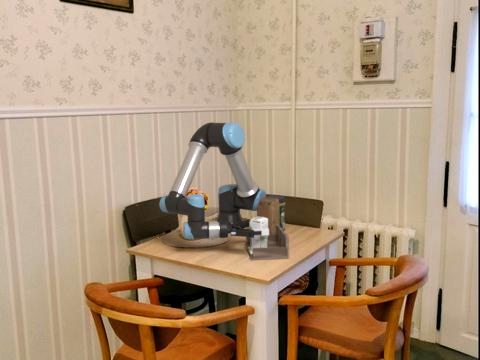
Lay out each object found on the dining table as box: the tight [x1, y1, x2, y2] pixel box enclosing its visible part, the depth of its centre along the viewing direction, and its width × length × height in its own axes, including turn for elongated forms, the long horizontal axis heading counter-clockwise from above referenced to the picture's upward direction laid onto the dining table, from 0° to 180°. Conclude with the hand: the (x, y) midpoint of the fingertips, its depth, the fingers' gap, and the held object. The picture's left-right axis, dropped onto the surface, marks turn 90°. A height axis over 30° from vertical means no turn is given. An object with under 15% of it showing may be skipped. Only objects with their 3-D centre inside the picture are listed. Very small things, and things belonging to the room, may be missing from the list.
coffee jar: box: [267, 194, 287, 231], centre depth 237 cm, size 10×8×19 cm
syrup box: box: [249, 216, 268, 250], centre depth 199 cm, size 6×6×14 cm
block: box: [256, 196, 280, 234], centre depth 223 cm, size 11×8×20 cm
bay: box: [244, 224, 290, 261], centre depth 200 cm, size 22×16×10 cm
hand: (266, 227), depth 199 cm, fingers open, 13 cm apart
